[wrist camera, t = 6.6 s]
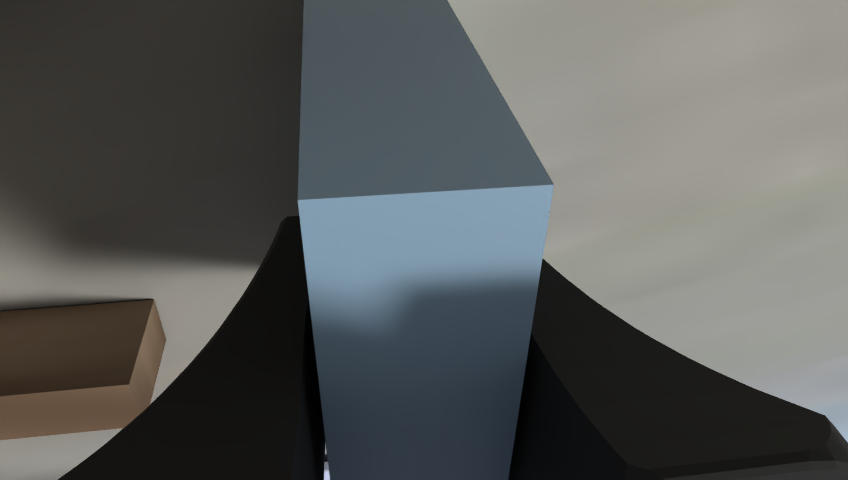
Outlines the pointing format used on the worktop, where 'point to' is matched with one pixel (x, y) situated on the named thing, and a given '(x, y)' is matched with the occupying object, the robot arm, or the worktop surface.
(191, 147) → the worktop surface
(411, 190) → the panel
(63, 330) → the rack
